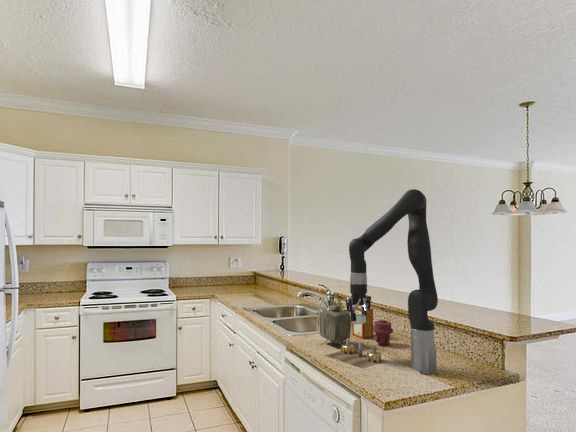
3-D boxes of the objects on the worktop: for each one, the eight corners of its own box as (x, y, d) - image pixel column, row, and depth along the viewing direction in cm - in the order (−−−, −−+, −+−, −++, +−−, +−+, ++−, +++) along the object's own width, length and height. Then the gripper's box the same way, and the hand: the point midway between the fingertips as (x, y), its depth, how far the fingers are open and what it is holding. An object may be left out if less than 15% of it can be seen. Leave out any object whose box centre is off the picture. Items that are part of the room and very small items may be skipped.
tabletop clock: (350, 349, 190) (350, 297, 191) (336, 352, 185) (336, 298, 187) (331, 342, 202) (332, 293, 204) (317, 344, 198) (318, 294, 199)
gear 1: (357, 352, 182) (357, 341, 182) (348, 355, 178) (348, 344, 178) (347, 349, 186) (347, 338, 186) (338, 351, 182) (338, 341, 182)
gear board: (386, 363, 170) (386, 345, 171) (362, 371, 160) (362, 352, 160) (347, 351, 187) (347, 335, 187) (324, 357, 177) (324, 341, 177)
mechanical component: (396, 345, 198) (385, 349, 191) (380, 341, 205) (368, 344, 199) (396, 320, 198) (385, 323, 192) (380, 317, 206) (368, 320, 199)
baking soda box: (352, 335, 217) (352, 305, 218) (361, 333, 220) (361, 305, 221) (363, 339, 209) (363, 308, 209) (372, 337, 212) (372, 307, 212)
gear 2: (382, 359, 172) (382, 352, 172) (379, 363, 166) (379, 356, 166) (368, 357, 175) (368, 350, 175) (365, 361, 169) (365, 354, 169)
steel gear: (358, 319, 180) (358, 313, 180) (368, 322, 175) (368, 315, 175) (348, 321, 176) (348, 314, 176) (358, 324, 171) (358, 317, 171)
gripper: (363, 280, 183) (363, 317, 183) (341, 282, 175) (341, 320, 174) (375, 282, 177) (376, 319, 176) (353, 284, 169) (353, 323, 168)
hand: (358, 320), depth 175 cm, fingers closed on steel gear, 6 cm apart
